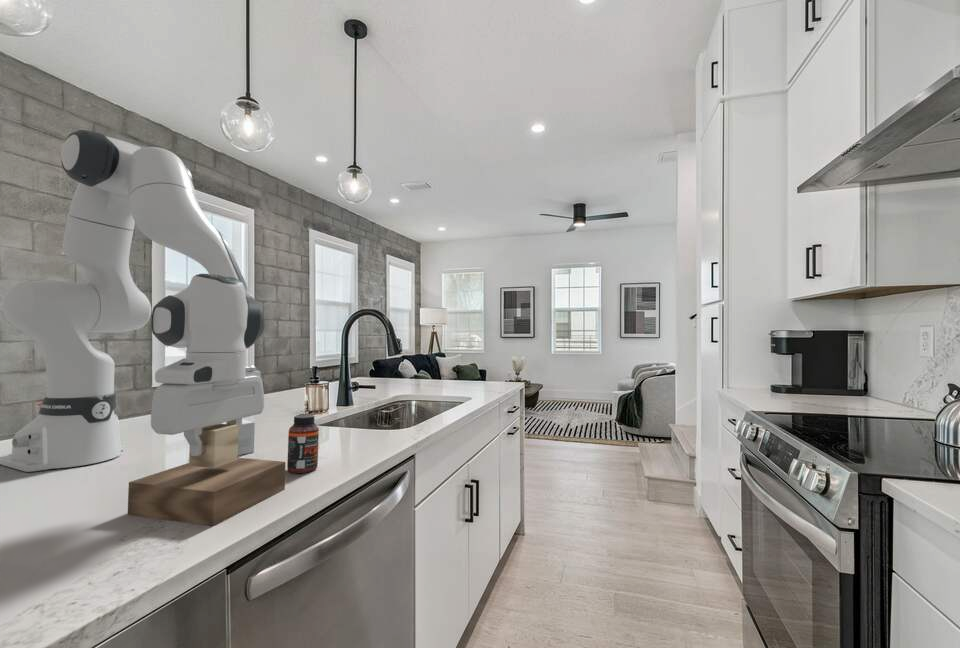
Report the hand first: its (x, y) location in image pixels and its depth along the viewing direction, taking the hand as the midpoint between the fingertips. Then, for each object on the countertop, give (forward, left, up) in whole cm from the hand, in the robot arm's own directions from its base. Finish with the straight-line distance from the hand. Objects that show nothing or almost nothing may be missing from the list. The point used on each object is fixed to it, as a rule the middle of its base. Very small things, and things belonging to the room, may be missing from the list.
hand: (213, 450), depth 75 cm
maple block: (0, 0, -2) cm, 2 cm away
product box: (-19, +26, -9) cm, 33 cm away
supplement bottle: (+4, +19, -9) cm, 21 cm away
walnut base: (0, 0, -9) cm, 9 cm away
